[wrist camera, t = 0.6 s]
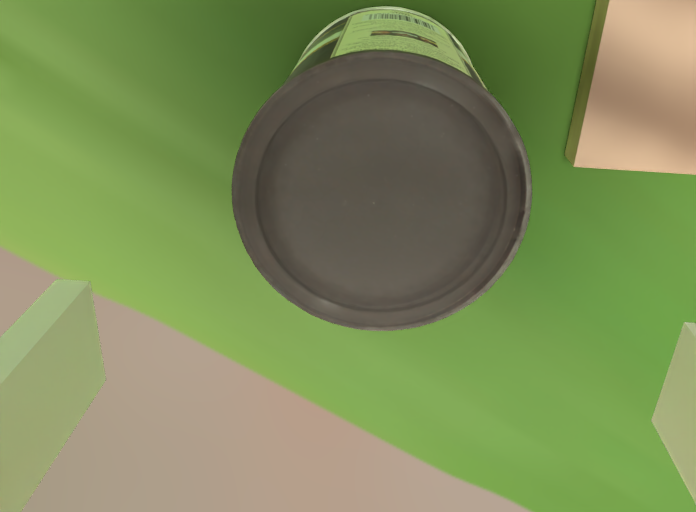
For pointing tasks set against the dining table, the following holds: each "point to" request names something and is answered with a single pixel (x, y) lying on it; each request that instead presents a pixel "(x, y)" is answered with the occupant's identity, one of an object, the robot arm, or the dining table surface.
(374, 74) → the coffee can
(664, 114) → the shelf board
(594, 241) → the dining table surface
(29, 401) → the robot arm
